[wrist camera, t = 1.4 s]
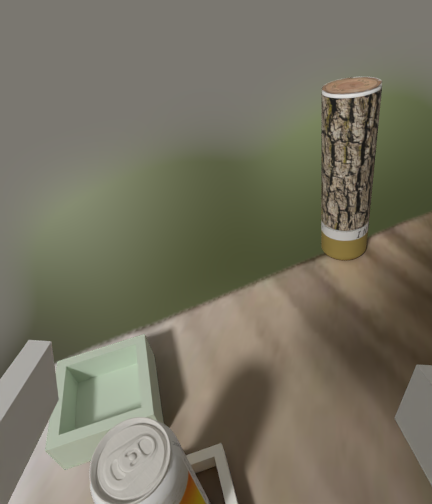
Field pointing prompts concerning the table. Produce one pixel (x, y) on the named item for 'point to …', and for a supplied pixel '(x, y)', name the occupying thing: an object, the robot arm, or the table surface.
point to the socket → (101, 397)
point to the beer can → (143, 467)
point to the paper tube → (348, 163)
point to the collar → (217, 458)
